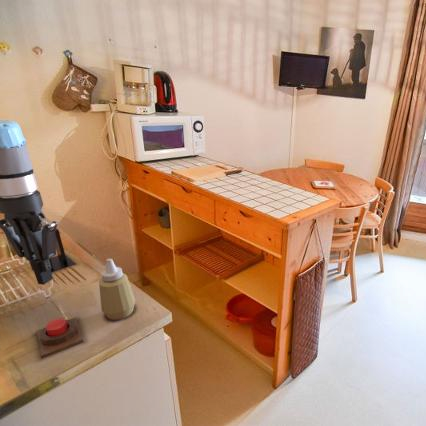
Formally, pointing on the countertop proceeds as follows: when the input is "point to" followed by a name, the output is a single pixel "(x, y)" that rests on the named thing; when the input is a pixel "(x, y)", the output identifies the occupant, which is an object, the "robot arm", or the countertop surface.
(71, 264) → the bracket
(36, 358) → the countertop surface
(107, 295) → the squeeze bottle
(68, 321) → the button box
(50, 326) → the button
